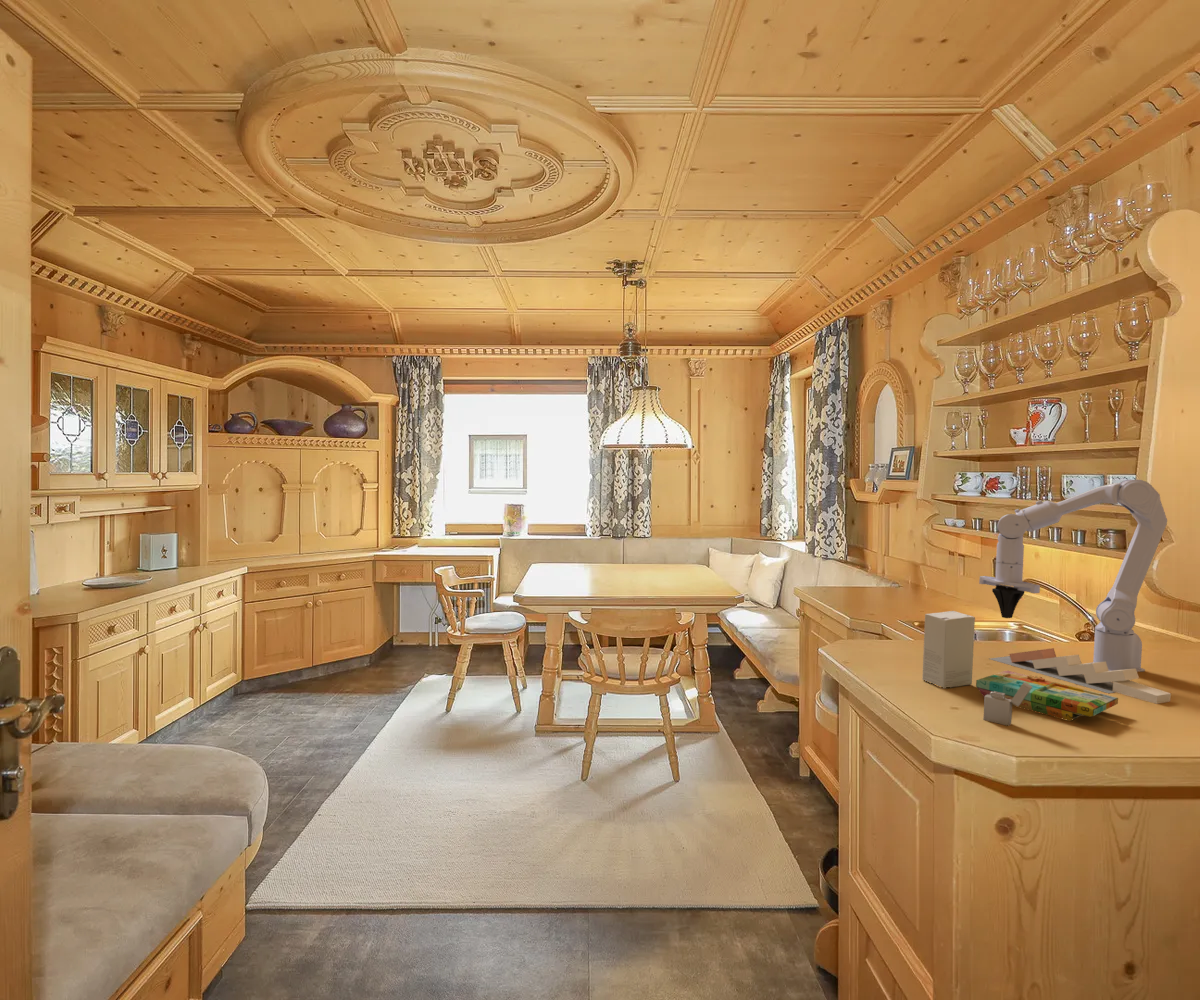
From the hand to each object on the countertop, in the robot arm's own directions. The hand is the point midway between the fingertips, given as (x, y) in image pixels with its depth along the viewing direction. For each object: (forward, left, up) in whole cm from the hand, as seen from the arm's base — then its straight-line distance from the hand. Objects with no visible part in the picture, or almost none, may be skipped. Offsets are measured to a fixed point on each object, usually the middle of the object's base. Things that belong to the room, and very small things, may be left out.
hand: (1006, 617), depth 169 cm
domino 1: (+4, +6, -8) cm, 11 cm away
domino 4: (+4, +23, -8) cm, 25 cm away
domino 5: (+4, +28, -8) cm, 30 cm away
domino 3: (+4, +17, -8) cm, 19 cm away
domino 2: (+4, +12, -8) cm, 15 cm away
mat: (+4, +16, -9) cm, 19 cm away
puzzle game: (+28, +29, -10) cm, 42 cm away
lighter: (+44, +33, -10) cm, 56 cm away
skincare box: (+34, +12, -10) cm, 37 cm away
